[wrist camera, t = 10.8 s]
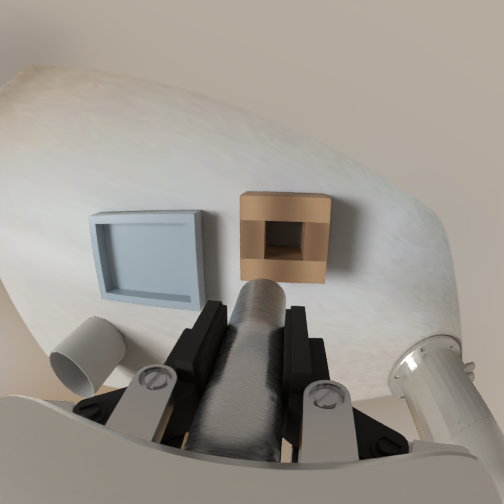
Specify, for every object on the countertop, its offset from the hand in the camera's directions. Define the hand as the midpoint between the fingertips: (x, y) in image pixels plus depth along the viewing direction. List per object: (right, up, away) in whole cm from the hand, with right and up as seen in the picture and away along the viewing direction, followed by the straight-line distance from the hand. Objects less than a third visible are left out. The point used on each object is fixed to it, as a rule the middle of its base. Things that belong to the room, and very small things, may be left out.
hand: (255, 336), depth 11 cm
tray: (-13, +3, +21) cm, 25 cm away
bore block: (+3, +6, +18) cm, 19 cm away
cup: (-24, -10, +27) cm, 37 cm away
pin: (0, +1, +3) cm, 3 cm away
